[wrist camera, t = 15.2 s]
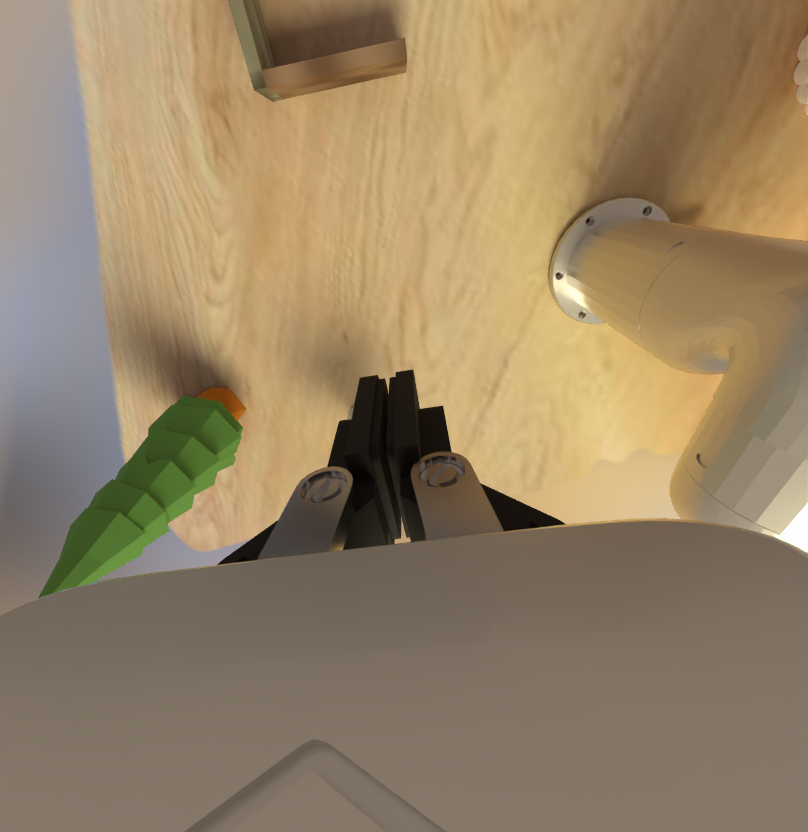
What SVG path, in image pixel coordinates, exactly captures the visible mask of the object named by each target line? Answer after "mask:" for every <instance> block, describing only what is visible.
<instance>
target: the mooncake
mask: <svg viewBox="0 0 808 832" xmlns="http://www.w3.org/2000/svg"><path fill="white" fill-rule="evenodd" d="M797 56H798V59H799V61H800V62H799V64H798V65H797V67H796V69H795V71H794V76H793V78H794V82H795V83H796V84H797V85H799V87H798V89H797V92H796V100H797V101H798V102H799V103H801V104H805V105H804V112H805V114H806V115H807V116H808V35H806V37H805V38H804V39H803V40H802V42H801V43H800V45H799V48H798V52H797Z"/></svg>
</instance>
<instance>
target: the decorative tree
mask: <svg viewBox="0 0 808 832" xmlns="http://www.w3.org/2000/svg"><path fill="white" fill-rule="evenodd" d="M245 410H246V408H245V407H244V406H243V404H242V403H241V402H240V401H239V400H238V398H237V397H236V396H235V395H234V394H233V393H232V391H231V390H230V389H229V388H213V387H210V388H209V389H207V390H206V391H204V392H202V393H201V394H199V395H198V397H197V398H196V397H190V396H183V397H182V398H181V399H180V400H179V401H178V402H177V403H176V404H174V405H171V406H170V407H169V408H168V409H167V410H166V411H165V412H164V413H163V414H162V415H161V416H160V417H159V418H158V419H157V420H156V421H155V422H154V423H153V424H152V425H151V426H150V427H149V428H148V437H147V438H146V439H145V441H144V442H143V443H142V445H141V446H140V447H139V448H138V450H137V451H136V452H135V454H134V455H133V457H132V458H131V459H130V460H129V461H128V462H127V463H126V464H125V465H124V466H123V467H122V468H121V469H120V471H119V473H118V475H117V477H116V479H115V480H111V481H110V482H108V483H107V484H106V485H105V486H104V487H103V488H102V489H101V490H100V491H98V492H97V493H96V495H95V497H94V498H93V500H92V502H91V504H90V505H89V507H88V508H86V509H85V510H84V511H83V512H82V513H81V515H80V516H79V517H78V518H77V519H76V520H75V521H74V523H73V524H72V525H71V526H70V529H69V532H68V535H67V538H66V541H65V544H64V547H63V550H62V553H61V556H60V559H59V561H58V563H57V565H56V566H55V568H54V570H53V572H52V574H51V576H50V577H49V579H48V581H47V583H46V585H45V587H44V589H43V591H42V592H41V594H40V596H39V598H41V597H43V596H46V595H50V594H53V593H56V592H59V591H62V590H66V589H69V588H72V587H77V586H81V585H85V584H90V583H94V582H95V581H96V580H98V579H99V578H101V577H102V576H104V575H106V574H108V573H110V572H111V571H113V570H115V569H117V568H119V567H120V566H122V565H124V564H126V563H127V562H130V561H131V560H133V559H135V558H137V557H139V556H140V555H142V550H143V547H145V546H147V545H148V544H150V543H151V542H153V541H154V540H156V539H157V538H159V537H160V536H162V535H164V534H165V533H167V532H168V531H169V529H168V522H170V521H172V520H173V519H175V518H176V517H178V516H180V515H181V514H183V513H184V512H186V511H188V510H189V509H191V508H192V504H193V499H194V495H196V494H197V493H199V492H201V491H203V490H205V489H207V488H208V487H210V486H212V485H214V482H215V479H216V475H217V472H218V471H220V470H222V469H224V468H226V467H229V466H231V465H233V464H234V461H235V456H234V453H235V452H236V451H237V447H238V445H239V443H240V440H241V433H242V429H243V427H242V426H241V425H240V423H239V422H238V419H239V418H240V417H241V415H242V414H243V413H244V411H245Z"/></svg>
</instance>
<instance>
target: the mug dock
mask: <svg viewBox="0 0 808 832" xmlns="http://www.w3.org/2000/svg"><path fill="white" fill-rule="evenodd" d="M228 1H229V4H230V8H231V11H232V15H233V18H234V22H235V25H236V29H237V32H238V36H239V39H240V43H241V46H242V50H243V53H244V57H245V60H246V64H247V67H248V70H249V74H250V77H251V81H252V84H253V88H254V90H255V91H257V92H258V93H260V94H261V95H263V96H265V97H266V98H268V99H269V100H271V101H277V100H282V99H286V98H291V97H295V96H300V95H305V94H309V93H314V92H318V91H323V90H327V89H332V88H337V87H341V86H346V85H350V84H355V83H359V82H364V81H369V80H373V79H378V78H382V77H387V76H392V75H396V74H401V73H405V72H406V63H407V53H406V45H405V38H402V39H398V40H394V41H389V42H385V43H380V44H376V45H371V46H367V47H363V48H358V49H354V50H349V51H345V52H340V53H336V54H332V55H327V56H323V57H318V58H314V59H309V60H305V61H301V62H296V63H292V64H287V65H283V66H278V67H275V64H274V61H273V57H272V53H271V49H270V45H269V41H268V37H267V34H266V30H265V26H264V22H263V18H262V14H261V10H260V6H259V3H258V0H228Z"/></svg>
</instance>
